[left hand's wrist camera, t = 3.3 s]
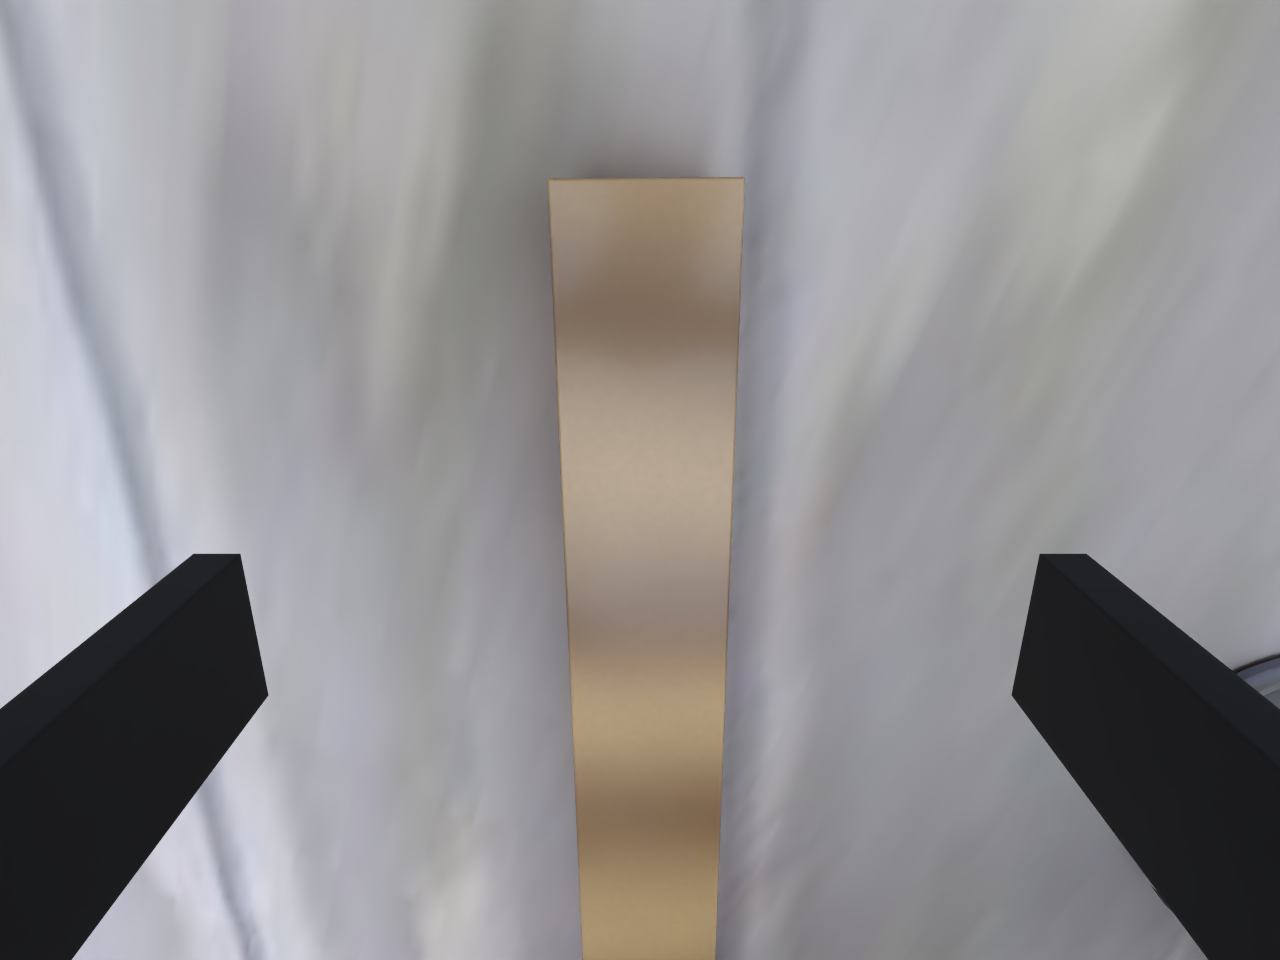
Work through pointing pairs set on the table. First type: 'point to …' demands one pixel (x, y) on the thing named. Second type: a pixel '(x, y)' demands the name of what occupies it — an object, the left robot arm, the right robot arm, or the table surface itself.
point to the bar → (647, 543)
